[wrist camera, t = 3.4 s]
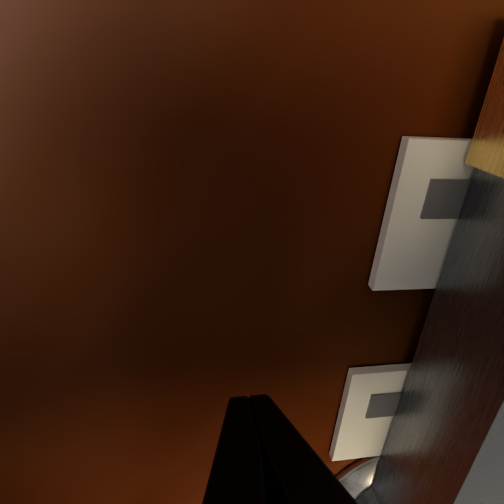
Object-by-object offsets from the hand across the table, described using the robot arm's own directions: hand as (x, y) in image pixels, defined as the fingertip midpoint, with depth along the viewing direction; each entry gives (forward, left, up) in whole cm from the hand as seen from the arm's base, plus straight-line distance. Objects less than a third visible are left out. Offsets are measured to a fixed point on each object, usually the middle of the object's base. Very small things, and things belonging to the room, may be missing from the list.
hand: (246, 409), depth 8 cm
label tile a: (+7, -4, -2) cm, 8 cm away
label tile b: (+7, +3, -2) cm, 8 cm away
